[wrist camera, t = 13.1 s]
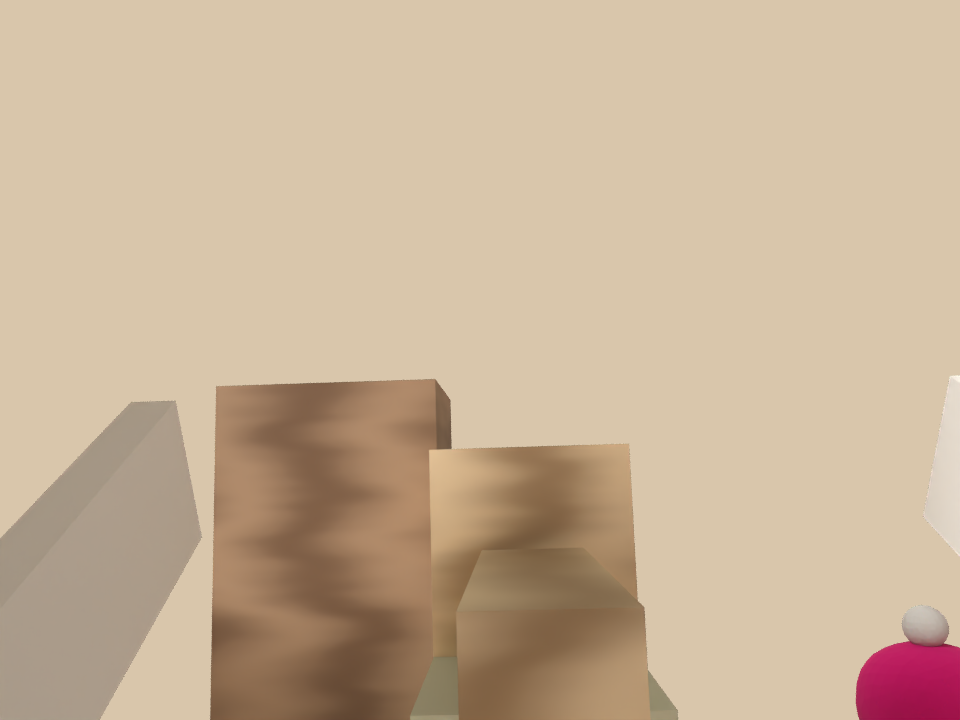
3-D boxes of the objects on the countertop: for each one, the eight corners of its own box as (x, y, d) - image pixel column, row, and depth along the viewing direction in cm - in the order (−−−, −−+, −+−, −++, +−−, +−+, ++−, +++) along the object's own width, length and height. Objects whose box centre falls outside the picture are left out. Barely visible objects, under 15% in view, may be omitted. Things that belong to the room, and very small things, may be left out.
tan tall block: (364, 813, 15) (361, 427, 16) (444, 631, 32) (440, 453, 33) (754, 807, 15) (725, 415, 16) (622, 627, 32) (612, 448, 33)
